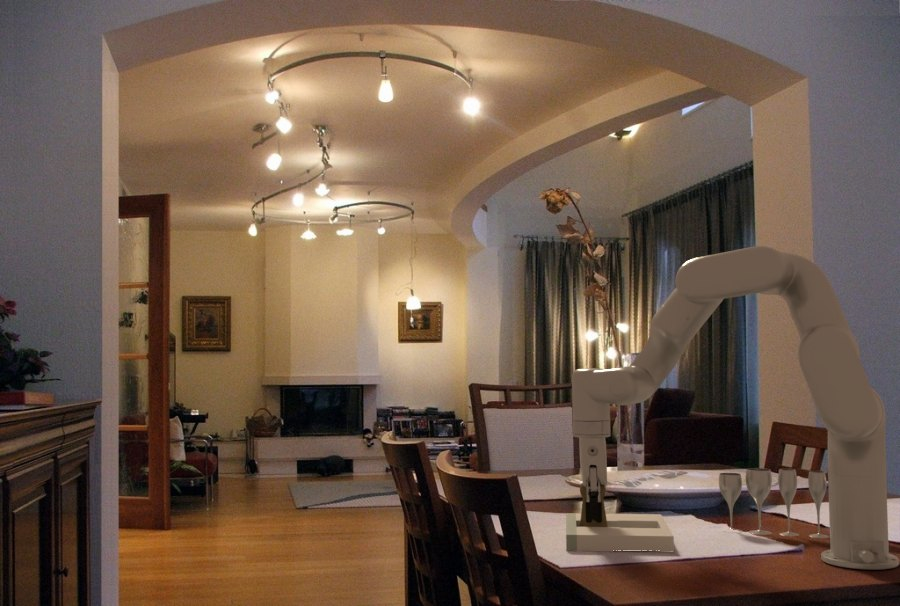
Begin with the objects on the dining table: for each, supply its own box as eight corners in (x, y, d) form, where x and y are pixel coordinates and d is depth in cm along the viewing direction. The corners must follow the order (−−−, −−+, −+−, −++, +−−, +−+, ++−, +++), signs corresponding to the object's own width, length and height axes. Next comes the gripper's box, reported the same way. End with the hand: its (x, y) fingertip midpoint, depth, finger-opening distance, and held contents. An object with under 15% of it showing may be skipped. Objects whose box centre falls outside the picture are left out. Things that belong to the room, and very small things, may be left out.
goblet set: (718, 533, 194) (716, 468, 195) (721, 528, 200) (719, 465, 200) (865, 542, 184) (863, 474, 184) (864, 536, 189) (862, 470, 190)
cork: (608, 539, 185) (607, 483, 186) (577, 538, 186) (576, 482, 187) (609, 533, 191) (608, 479, 192) (579, 532, 192) (578, 478, 193)
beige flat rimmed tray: (673, 552, 175) (673, 536, 175) (566, 550, 178) (566, 534, 178) (661, 528, 199) (660, 514, 199) (566, 527, 201) (566, 513, 202)
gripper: (612, 432, 181) (614, 528, 180) (608, 426, 198) (610, 513, 197) (573, 432, 182) (575, 527, 181) (572, 426, 199) (574, 513, 198)
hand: (593, 519), depth 189 cm, fingers closed on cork, 3 cm apart
